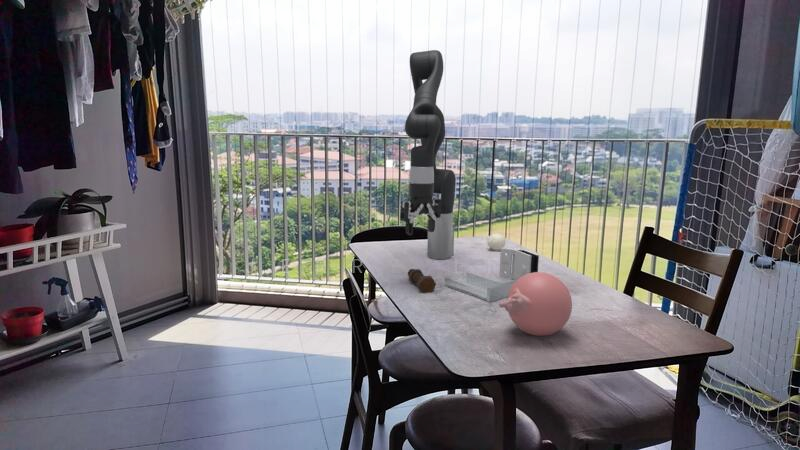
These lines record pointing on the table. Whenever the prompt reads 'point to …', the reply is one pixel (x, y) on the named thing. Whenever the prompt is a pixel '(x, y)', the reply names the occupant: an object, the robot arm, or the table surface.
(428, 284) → the bolt
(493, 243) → the white ball
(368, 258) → the table surface
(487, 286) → the tray
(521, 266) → the hinge
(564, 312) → the balloon
